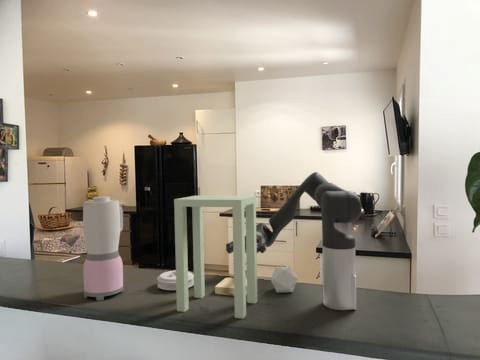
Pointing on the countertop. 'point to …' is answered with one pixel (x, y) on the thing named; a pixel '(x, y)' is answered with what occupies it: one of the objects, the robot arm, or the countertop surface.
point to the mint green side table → (198, 248)
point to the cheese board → (227, 286)
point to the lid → (172, 280)
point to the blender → (102, 247)
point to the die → (284, 279)
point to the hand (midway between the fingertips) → (240, 251)
